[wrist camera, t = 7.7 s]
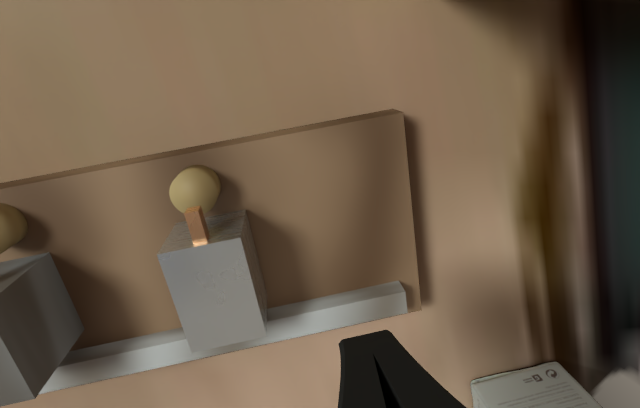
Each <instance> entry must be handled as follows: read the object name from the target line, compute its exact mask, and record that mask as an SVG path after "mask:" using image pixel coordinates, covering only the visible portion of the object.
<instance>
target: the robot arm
mask: <svg viewBox="0 0 640 408" xmlns="http://www.w3.org/2000/svg"><path fill="white" fill-rule="evenodd" d="M339 348H340V355H341V381H340V391H339V401H338V408H466V407H465V406H464V405H463V404H461V403H460V402H459V401H458V400H457V399H456V398H454V397H453V396H452V395H451V394H450V393H449V392H448V391H447V390H446V389H444V388H443V387H442V386H441V385H440V384H439V383H438V382H437V381H436V380H435V379H434V378H433V377H432V376H431V375H430V374H429V373H428V372H427V371H426V370H425V369H424V368H423V367H422V366H421V365H420V364H419V363H418V362H417V361H416V360H415V359H414V358H413V357H412V356H411V355H410V354H409V353H408V352H407V351H406V350H405V348H404V347H403V346H402V345H401V344H400V343H399V342H398V340H397V339H396V338H395V337H394V336H393V334H392V333H391V332H390V331H388V330H383V331H378V332H374V333H370V334H365V335H361V336H356V337H352V338H347V339H343V340H342V341H341V342H340V343H339Z"/></svg>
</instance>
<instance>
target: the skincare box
mask: <svg viewBox="0 0 640 408" xmlns="http://www.w3.org/2000/svg"><path fill="white" fill-rule="evenodd" d="M470 385H471V392H472V397H473V407H474V408H603V407H602V406H600V405H599V404H598V402H597V401H596V400H595V399H594V398H593V397H592V396H591V395H590V394H589V393H588V392H587V391H586V390H585V389H584V388H583V387H582V386H581V385H580V384H579V383H578V382H577V381H576V380H575V379H574V378H573V377H572V376H571V375H570V374H569V373H568V372H567V371H566V370H565V369H564V368H563V367H562V366H561V365H560V364H559V363H558V362H549V363H544V364H541V365H538V366H535V367H531V368H526V369H522V370H517V371H512V372H506V373H501V374H496V375H492V376H488V377H484V378H479V379H475V380H473V381H472V382H471V384H470Z"/></svg>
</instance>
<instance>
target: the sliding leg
mask: <svg viewBox="0 0 640 408" xmlns="http://www.w3.org/2000/svg"><path fill="white" fill-rule="evenodd" d="M184 216H185V219H186V221H184V222H179V223H176V224H175V226H174V227H173V229H172V231H171V232H170V234H169V236H168V237H167V239H166V240H165V242H164V244H163V245H162V247H161V249H160V250H159V252H158V253H157V257H158V260H159V263H160V265H161V268H162V271H163V274H164V277H165V280H166V282H167V285H168V288H169V291H170V294H171V296H172V299H173V302H174V305H175V308H176V310H177V313H178V316H179V319H180V322H181V325H182V327H183V330H184V333H185V336H186V339H187V341H188V344H189V347H190V350H191V353H194V352H198V351H203V350H207V349H212V348H216V347H221V346H226V345H230V344H235V343H239V342H244V341H248V340H253V339H257V338H262V337H267V292H266V288H265V284H264V280H263V276H262V272H261V268H260V264H259V260H258V256H257V252H256V248H255V244H254V240H253V236H252V232H251V228H250V225H249V221H248V217H247V213H246V209H244V210H239V211H234V212H229V213H224V214H219V215H214V216H209V217H204V214H203V211H202V207H201V205H200V206H195V207H190V208H187V209H186V211H185V213H184Z"/></svg>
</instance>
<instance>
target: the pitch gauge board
mask: <svg viewBox="0 0 640 408" xmlns="http://www.w3.org/2000/svg"><path fill="white" fill-rule="evenodd" d="M200 205H201V207H202V211H203V214H204V217H209V216H214V215H219V214H224V213H229V212H234V211H239V210H244V209H246V213H247V217H248V221H249V225H250V228H251V232H252V236H253V240H254V244H255V248H256V252H257V256H258V260H259V264H260V268H261V272H262V276H263V280H264V284H265V288H266V292H267V337H262V338H257V339H253V340H248V341H244V342H239V343H235V344H230V345H226V346H221V347H216V348H212V349H207V350H203V351H198V352H194V353H191V350H190V347H189V344H188V341H187V339H186V336H185V333H184V330H183V327H182V325H181V322H180V319H179V316H178V313H177V310H176V308H175V305H174V302H173V299H172V296H171V294H170V291H169V288H168V285H167V282H166V280H165V277H164V274H163V271H162V268H161V265H160V263H159V260H158V257H157V253H158V252H159V250H160V249H161V247H162V245H163V244H164V242H165V240H166V239H167V237H168V236H169V234H170V232H171V231H172V229H173V227H174V226H175V224H176V223H179V222H184V221H186V219H185V216H184V213H185V211H186V209H187V208H190V207H195V206H200ZM420 310H421V299H420V288H419V277H418V267H417V256H416V245H415V234H414V223H413V213H412V202H411V191H410V180H409V169H408V159H407V148H406V137H405V126H404V115H403V112H401V111H397V110H394V109H390V110H384V111H379V112H374V113H369V114H363V115H358V116H353V117H348V118H342V119H337V120H332V121H326V122H321V123H316V124H311V125H305V126H300V127H295V128H290V129H284V130H279V131H274V132H269V133H263V134H258V135H253V136H248V137H242V138H237V139H232V140H226V141H221V142H216V143H211V144H205V145H200V146H195V147H190V148H184V149H179V150H174V151H169V152H163V153H158V154H153V155H148V156H142V157H137V158H132V159H126V160H121V161H116V162H111V163H105V164H100V165H95V166H90V167H84V168H79V169H74V170H69V171H63V172H58V173H53V174H47V175H42V176H37V177H32V178H26V179H21V180H16V181H11V182H5V183H0V406H4V405H9V404H13V403H18V402H22V401H27V400H31V399H35V398H36V397H37V395H39V394H43V393H48V392H53V391H57V390H62V389H66V388H71V387H75V386H80V385H84V384H89V383H93V382H98V381H102V380H107V379H111V378H116V377H121V376H125V375H130V374H134V373H139V372H143V371H148V370H152V369H157V368H161V367H166V366H170V365H175V364H179V363H184V362H189V361H193V360H198V359H202V358H207V357H211V356H216V355H220V354H225V353H229V352H234V351H238V350H243V349H247V348H252V347H256V346H261V345H266V344H270V343H275V342H279V341H284V340H288V339H293V338H297V337H302V336H306V335H311V334H315V333H320V332H324V331H329V330H334V329H338V328H343V327H347V326H352V325H356V324H361V323H365V322H370V321H374V320H379V319H383V318H388V317H392V316H397V315H402V314H406V313H411V312H415V311H420Z"/></svg>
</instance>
